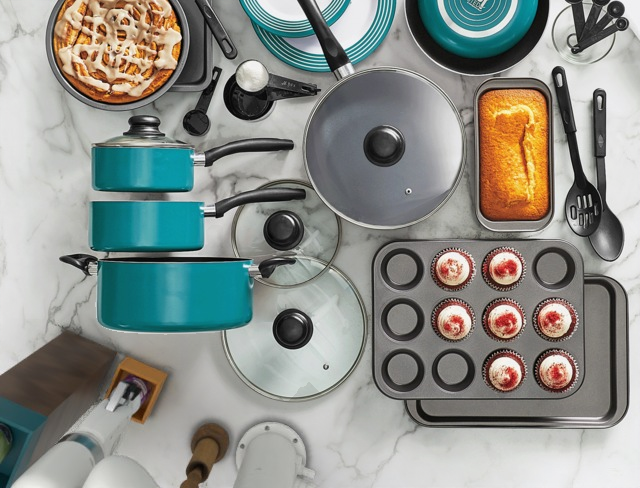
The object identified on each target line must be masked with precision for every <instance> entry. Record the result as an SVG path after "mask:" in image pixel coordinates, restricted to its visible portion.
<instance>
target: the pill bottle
mask: <svg viewBox="0 0 640 488" xmlns="http://www.w3.org/2000/svg"><path fill="white" fill-rule="evenodd" d="M125 381H127V382H129V381H131V382H134V383H136V384H137V386H138V387H140V388H142V391H141V393H140V394H139V395H138V396H137V397H136V398H135V399H134V400H133V401H130V402H129V404H128V407H130V408H132V414H134V413H135V412H136V411H137V410H138V409H139V408H140V407H141V405H142V404H143V403H144V402H145V400H146V399H147V398H148V396H149V395H150V393H151V388H152V386H151V382H150V381H148V380H145V379H143V378H141V377H139V376H136V375H134V374H130V375H128V376H127V377H126V378H125V379H124V380H123V382H125ZM116 388H117V387H116ZM116 388H115V389H114V390H113V391H112V393H111V395H110V398H111V396H112V395H113V393H114V392H115V390H116ZM125 400H126V399H124V398H121V400H120V402H119V403H120V404H122V405H123V403H124V402H125ZM115 410H116V409H115Z"/></svg>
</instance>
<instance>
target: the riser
mask: <svg viewBox="0 0 640 488" xmlns="http://www.w3.org/2000/svg"><path fill="white" fill-rule="evenodd" d="M117 353H118V351H116V350H113V349H111V348H110V347H107V346H105V345H102V344H100V343H98V342H95V341H94V340H91V339H89V338H86V337H85V336H82V335H79V334H78V333H75V332H73V331H70V330H68V329H66V330H64V331H63V332H61V333H60V334H58V335H57V336H55V337H53V339H51V340H49V341H48V342H46V343H45V344H44V345H41V347H39V348H38V349H36V350H35V351H34V352H32V353H30V354H28V356H26V357H25V358H23V359H22V360H20V361H19V362H17V363H16V364H15V365H13V366H12V367H10V368H9V369H7V370H6V371H4V372H3V373H2V374H0V397H3V398H5V399H7V400H9V401H12V402H14V403H16V404H19V405H21V406H23V407H25V408H28V409H30V410H32V411H34V412H37V413H39V414H41V415H43V416H46V417H48V420H47V422H46V425H45V427H44V429H43V432H42V434H41V436H40V439H39V441H38V443H37V446H36V448H35V450H34V453H33V455H32V457H31V460H30V462H29V464H28V467H27V469H26V471H27V470H28V469H29V468H30V467H31V466H32V465H33V464H34V463H35V462H36V461H37V460H39V459H40V458H41V457H42V456H43V455H44V454H45V453H46V452H47V451H48V450H49V449H50V448H52V447H53V446H54V445H55V444H56V443H57V442H58V441H59V440H60V439H61V438H62V437H63V436H65V435H66V434H67V432H68V431H70V429H71V428H72V427H73V426H74V425H75V424H76V423H77V422H78V421H79V420H80V419H81V418H82V417H83V416H84V415H85V414H86V413H87V411H88V410H90V408H91V407H92V406H93V405H94V404H95V403H97V400H98V397H99V395H100V393H101V391H102V388H103V386H104V383H105V382H106V379H107V377H108V373H110V372H109V371H110V369H111V367H112V365H113V363H114V360H115V357H116V355H117ZM26 471H25V472H26Z"/></svg>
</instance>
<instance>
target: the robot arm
mask: <svg viewBox="0 0 640 488" xmlns="http://www.w3.org/2000/svg"><path fill="white" fill-rule="evenodd" d="M141 391H142V388H140V387H138V386H137V384H136V383H134V382H131V381H129V382H127V381H125V382H123V381H120V383H119V384H118V386H117V388H116V390H115V392H114V393H113V395H112V396H111V398H107V399H104V398H103V400H102V401H100V402H99V403H98V404H97V405H96V406H95V407H94V408H93V409H92V410H91V411H90V412H89V413H88V414H87V416H86V417H85V418H84V419H83V421H81V423H80V424H79V425H78V426H77V427H76V429H75V430H74V431H71V432H68V433H65V434H64V435H63V436H62V437H61V438H60V439H59V441H58V442H57V443H56V444H55V445H54V446H53V447H52V448H50V449H49V450H48V451H47V452H46V453H45V454H44V455H43V456H42V457H41V458H40V459H39V460H37V461H36V462H35V463H34V464H33V465H32V466H31V467H30V468H29V469H28V470H27V471H26V472H25V473H24V474H22V475H21V476H20V477H19V478H18V479H17V480H16V481H15V482H14V484H13V485H12V486H11V488H161V487H160V486H159V484H158V483H157V481H156V480H155V478H153V477H154V476H152V475H151V474H150V473H149V471H148V470H147V469H146V468H145V467H144V466H143V465H142V464H141V463H140V462H138V461H136V460H135V459H133V458H131V457H129V456H126V455H121V454H117V451H118V449H119V447H120V445H121V442H122V441H123V438H124V435H125V433H126V431H127V428H128V426H129V423H130V421H131V416H132V408H130V407H128V404H129V402H130V401H133V400H134V399H135V398H136V397H137V396H138V395H139V394H140V393H141ZM121 398H124V399H126V400H125V402H124V403H123V405H122V404H120V403H119V402H120V400H121ZM115 409H116V410H115ZM306 463H307V451H306V446H305V444H304V441H303V439H302V438H301V436H300V435H299V433H297V431H296V430H294V429H293V428H292V427H290V426H289V425H286V424H285V423H281V422H277V421H265V422H261V423H257V424H255V425H253V426H252V427H250V428H248V430H246V431H245V433H244V434H243V435H242V436H241V438H240V440H239V442H238V443H237V447H236V452H235V465H236V469H237V474H236V477H235V480H234V483H233V485H232V488H317V487H318V485H317V484H314V483H312V482H310V481H306V480H304V479H302V476H305V477H306V478H308V479H311V480H314V478H315V476H316V470H314V469H312V468H308V467H307V466H306Z"/></svg>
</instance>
